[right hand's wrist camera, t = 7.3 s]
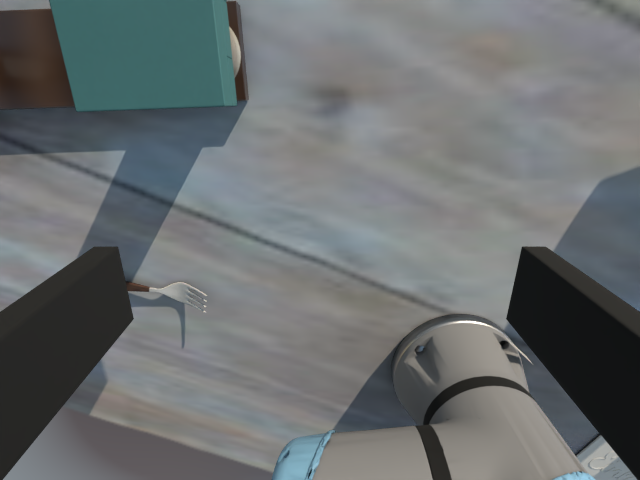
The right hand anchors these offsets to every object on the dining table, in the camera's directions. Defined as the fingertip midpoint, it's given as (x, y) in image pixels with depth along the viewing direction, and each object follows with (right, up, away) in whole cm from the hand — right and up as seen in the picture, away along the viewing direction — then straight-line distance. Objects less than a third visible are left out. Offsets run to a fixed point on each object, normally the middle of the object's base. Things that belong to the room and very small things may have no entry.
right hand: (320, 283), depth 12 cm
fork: (-20, -4, +31) cm, 37 cm away
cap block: (-10, +15, +12) cm, 21 cm away
